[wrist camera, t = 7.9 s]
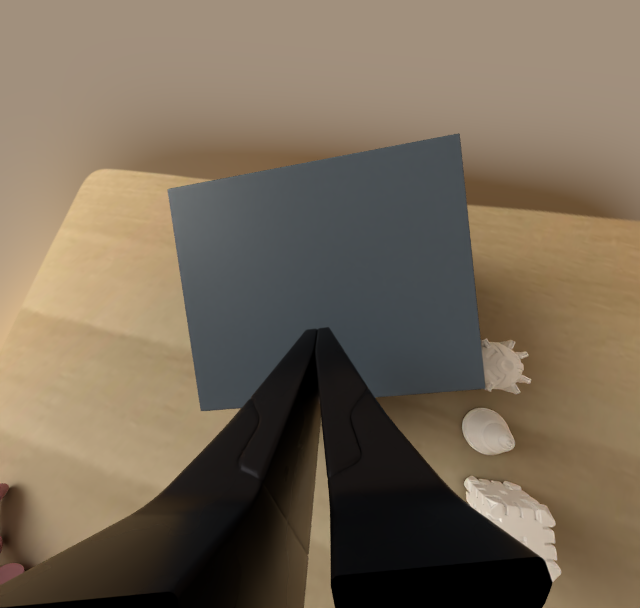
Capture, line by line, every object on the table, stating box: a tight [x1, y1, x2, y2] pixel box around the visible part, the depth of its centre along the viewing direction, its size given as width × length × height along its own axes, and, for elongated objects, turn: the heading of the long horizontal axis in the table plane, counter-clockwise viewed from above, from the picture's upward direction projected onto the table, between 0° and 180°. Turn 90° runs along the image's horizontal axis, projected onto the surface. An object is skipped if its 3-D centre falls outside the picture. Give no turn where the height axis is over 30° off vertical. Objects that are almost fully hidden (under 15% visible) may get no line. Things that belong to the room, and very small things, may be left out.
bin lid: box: [168, 134, 486, 411], centre depth 11 cm, size 11×13×1 cm
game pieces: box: [462, 339, 561, 582], centre depth 15 cm, size 12×3×3 cm, turn 175°
